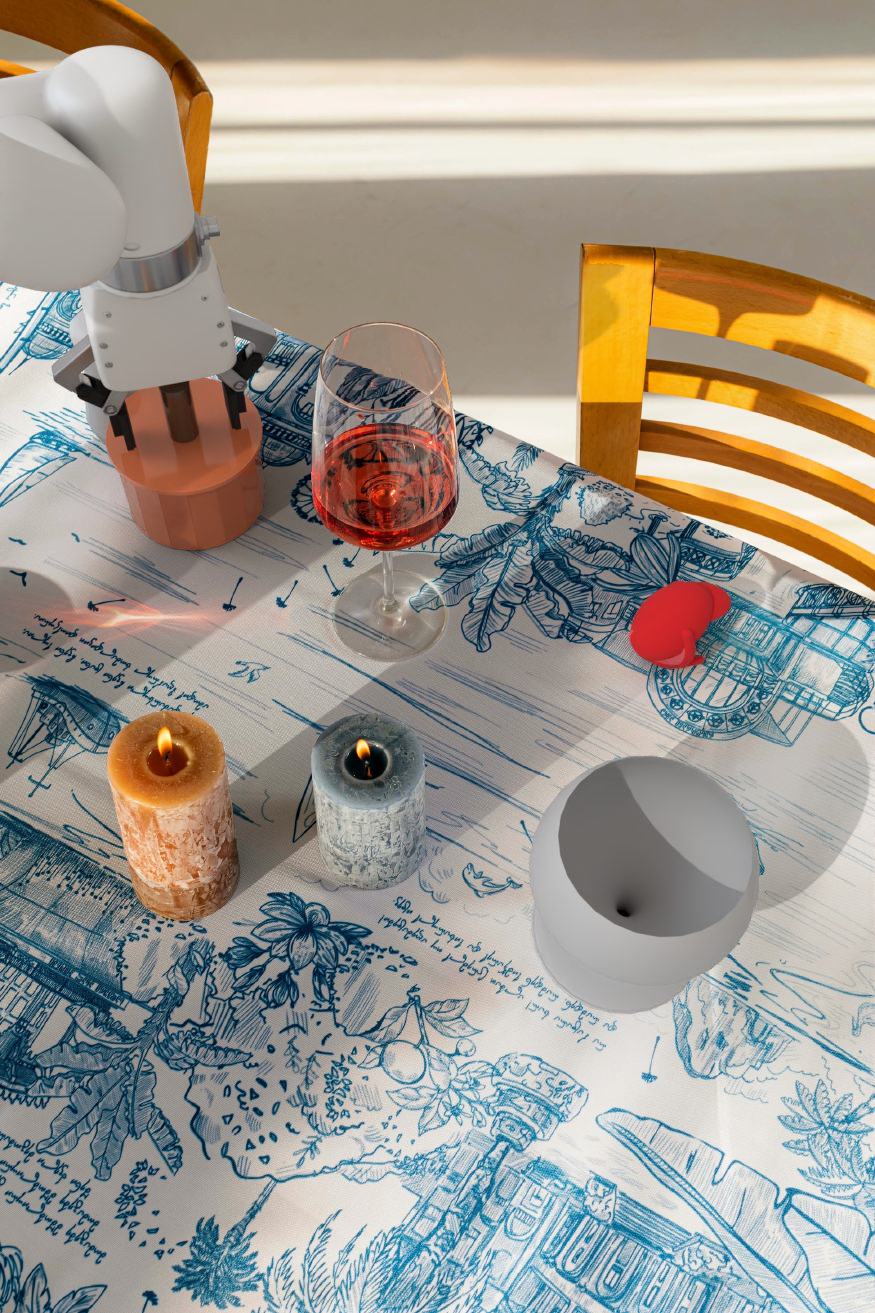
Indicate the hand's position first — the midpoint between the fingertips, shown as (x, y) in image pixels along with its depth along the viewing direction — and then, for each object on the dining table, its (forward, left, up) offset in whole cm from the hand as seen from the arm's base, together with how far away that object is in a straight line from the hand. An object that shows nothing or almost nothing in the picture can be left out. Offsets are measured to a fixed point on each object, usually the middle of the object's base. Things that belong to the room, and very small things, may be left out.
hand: (181, 426), depth 95 cm
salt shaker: (-7, +7, -9) cm, 14 cm away
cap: (+40, -12, -9) cm, 43 cm away
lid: (0, 0, -1) cm, 1 cm away
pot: (0, 0, -9) cm, 9 cm away
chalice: (+35, -36, -9) cm, 51 cm away
